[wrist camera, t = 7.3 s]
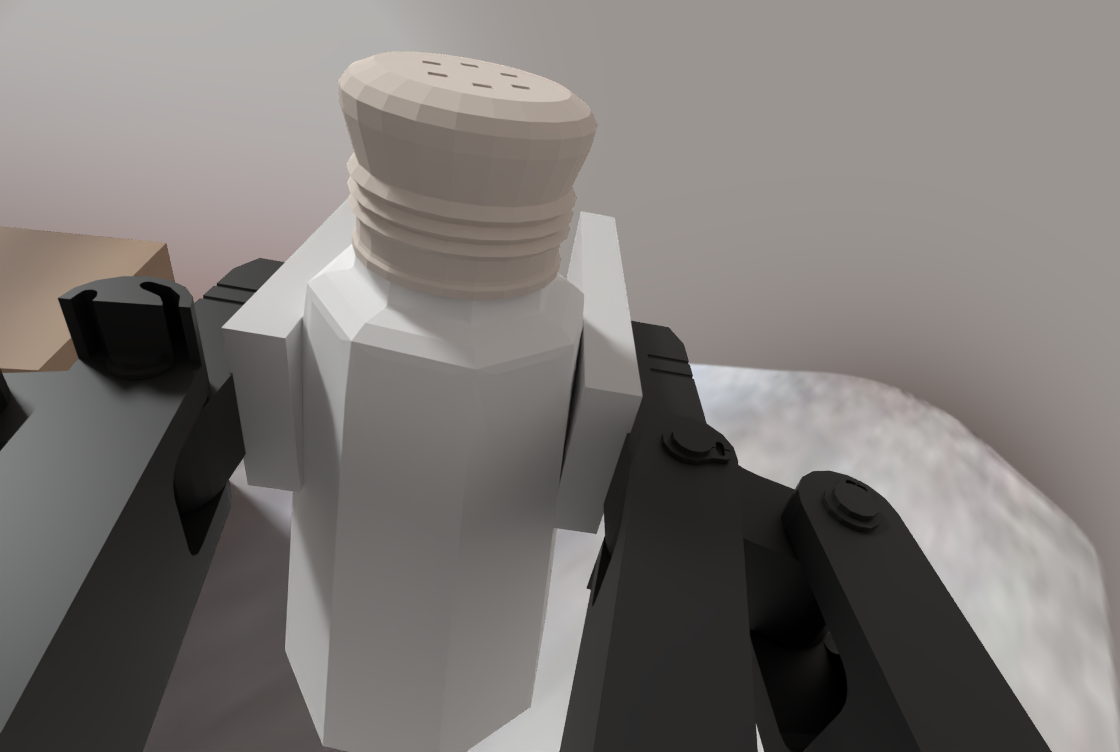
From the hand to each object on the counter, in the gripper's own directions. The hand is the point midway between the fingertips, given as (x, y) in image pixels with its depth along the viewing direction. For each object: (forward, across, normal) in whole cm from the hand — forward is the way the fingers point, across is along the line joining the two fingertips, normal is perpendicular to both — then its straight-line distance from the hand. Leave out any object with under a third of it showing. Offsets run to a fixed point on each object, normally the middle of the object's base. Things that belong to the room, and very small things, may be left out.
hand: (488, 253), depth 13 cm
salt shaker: (-5, 0, -7) cm, 9 cm away
